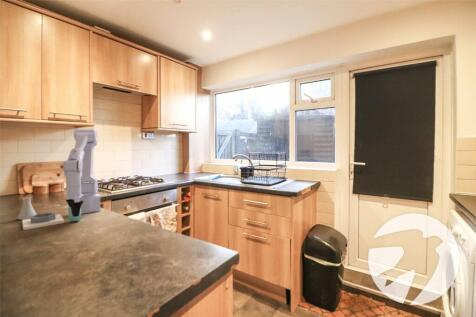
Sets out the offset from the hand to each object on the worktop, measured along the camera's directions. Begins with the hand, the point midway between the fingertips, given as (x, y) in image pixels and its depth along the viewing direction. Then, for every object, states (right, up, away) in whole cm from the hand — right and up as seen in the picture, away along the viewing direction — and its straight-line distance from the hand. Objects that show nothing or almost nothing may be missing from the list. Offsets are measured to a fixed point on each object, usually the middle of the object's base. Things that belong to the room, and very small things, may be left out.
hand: (74, 215), depth 112 cm
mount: (-14, -3, -1) cm, 14 cm away
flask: (-27, -3, +6) cm, 28 cm away
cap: (0, -2, 0) cm, 2 cm away
